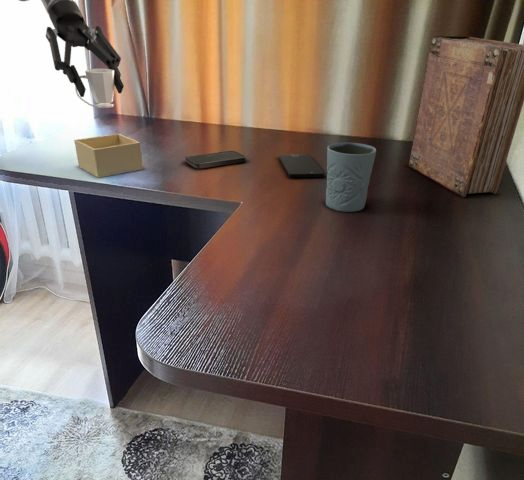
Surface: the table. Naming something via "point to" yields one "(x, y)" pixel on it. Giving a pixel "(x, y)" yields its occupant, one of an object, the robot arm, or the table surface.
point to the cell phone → (300, 165)
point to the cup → (100, 86)
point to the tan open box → (108, 155)
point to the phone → (215, 159)
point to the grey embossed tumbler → (348, 175)
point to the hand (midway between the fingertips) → (102, 91)
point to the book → (468, 112)
